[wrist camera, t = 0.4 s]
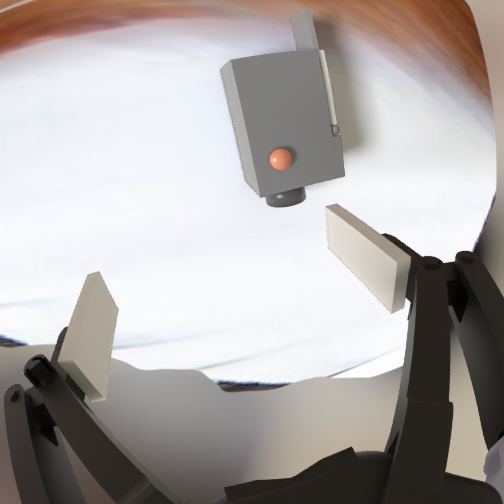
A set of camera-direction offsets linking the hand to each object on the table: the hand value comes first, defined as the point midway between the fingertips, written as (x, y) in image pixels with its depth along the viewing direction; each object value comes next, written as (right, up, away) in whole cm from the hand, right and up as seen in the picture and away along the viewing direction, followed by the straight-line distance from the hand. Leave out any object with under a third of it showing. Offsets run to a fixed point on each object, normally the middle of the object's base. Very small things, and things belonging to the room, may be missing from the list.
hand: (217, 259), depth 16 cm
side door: (+8, +25, +19) cm, 32 cm away
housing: (+5, +17, +22) cm, 29 cm away
